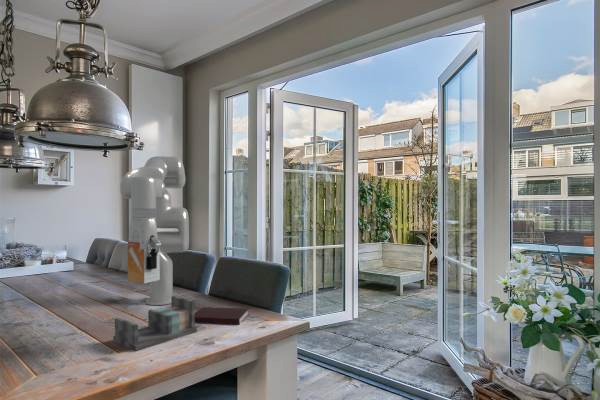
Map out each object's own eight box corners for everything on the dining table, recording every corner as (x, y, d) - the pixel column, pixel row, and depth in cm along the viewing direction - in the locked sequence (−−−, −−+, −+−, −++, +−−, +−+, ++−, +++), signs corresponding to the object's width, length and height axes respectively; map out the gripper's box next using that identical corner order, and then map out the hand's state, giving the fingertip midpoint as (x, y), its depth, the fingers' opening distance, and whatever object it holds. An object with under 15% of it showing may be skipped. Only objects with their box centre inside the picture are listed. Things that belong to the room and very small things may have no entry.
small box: (127, 281, 124) (127, 241, 124) (143, 277, 129) (143, 239, 129) (144, 283, 120) (144, 242, 120) (160, 280, 126) (160, 240, 126)
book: (239, 326, 140) (239, 317, 140) (189, 323, 143) (189, 315, 143) (249, 316, 152) (249, 308, 152) (203, 314, 155) (203, 306, 155)
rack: (113, 340, 124) (113, 308, 124) (172, 323, 141) (172, 295, 141) (136, 351, 115) (136, 316, 115) (196, 331, 133) (196, 301, 133)
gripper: (119, 214, 127) (119, 266, 127) (147, 215, 116) (147, 272, 116) (140, 213, 133) (140, 263, 133) (169, 214, 122) (169, 268, 122)
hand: (143, 267), depth 125 cm, fingers closed on small box, 8 cm apart
